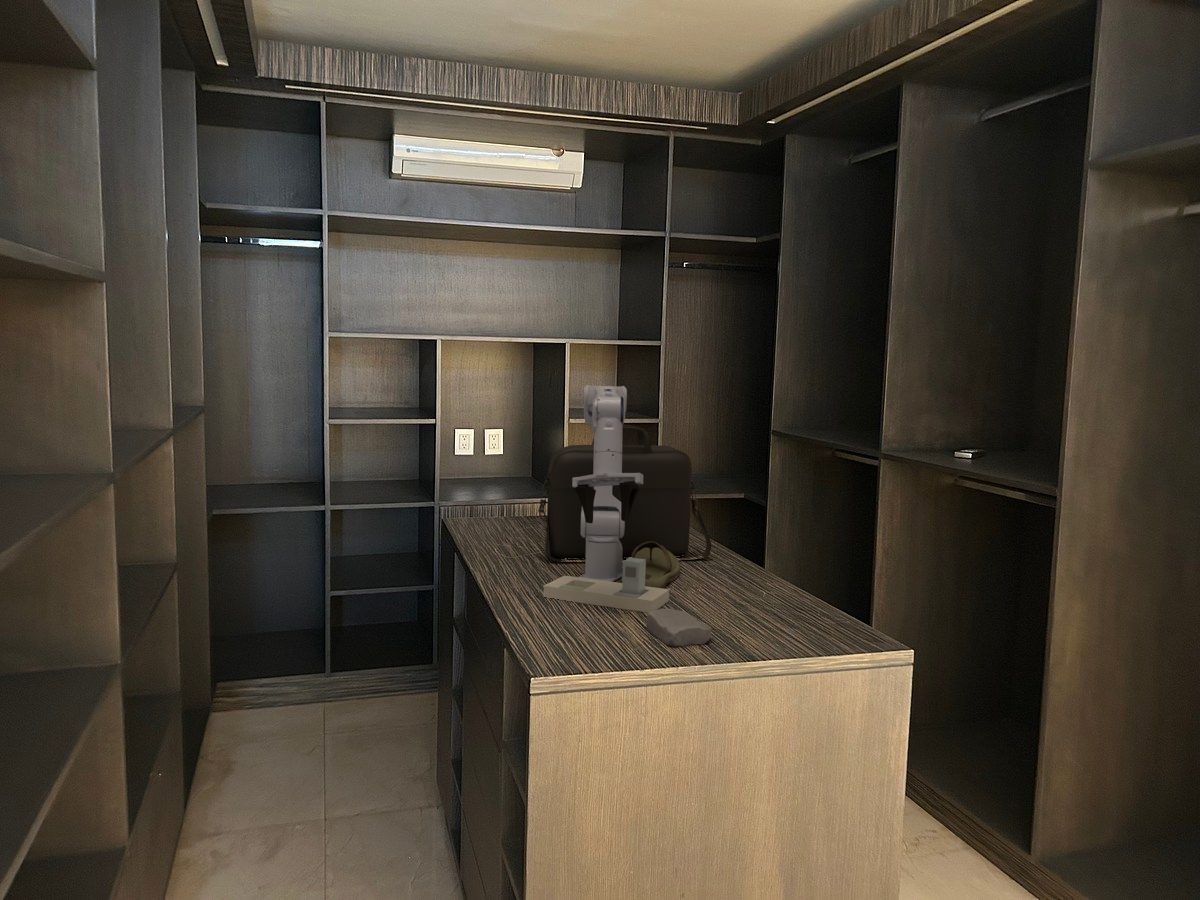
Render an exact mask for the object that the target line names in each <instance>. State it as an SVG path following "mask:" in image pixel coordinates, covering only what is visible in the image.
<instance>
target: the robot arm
mask: <svg viewBox="0 0 1200 900" xmlns="http://www.w3.org/2000/svg"><path fill="white" fill-rule="evenodd" d="M627 392H628V390H627V387H625V385H622V386H613V385H610V386H609V385H589V384H586V385H585V386H584V388H583V419H584V424H585V425H587V426H589V427H591V429H592V433H593V438H594V464H593V475H587V476H582V477H574V478H573V481H572V487H574V488H575V491H576V493H577V495H578V497H579V499H580V502H581V504H582V512H581V536H582V537H585V532H586V559H585V563H584V565H585V566H584V573H583V574H581V575H579V576H578V577H579V578H587V579H594V580H602V581H609V582H615V581H617V580H619V579H620V578H622V576H623V563H622V559H623V558H622V552H623V549H622V544H621V542H620V541H619V538H622V537H623V536H624V527H625V522H628V520H629V515H630V512H631V508H632V505H633V503H634V500H635V498H636V496H637V495H638V493H639V491H640V488H639V487H638V484H643V474H641V473H622V445H623V428H622V427H623V426H622V425H625V420H626V412H627V405H628V404H627V402H628V393H627ZM612 485H619V486H620V493H621V502H620V501H619V500H618V499H616V498H615V497H614V496H613V495H612ZM591 487H594V489H592V488H591Z"/></svg>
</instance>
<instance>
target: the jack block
mask: <svg viewBox="0 0 1200 900" xmlns="http://www.w3.org/2000/svg"><path fill="white" fill-rule="evenodd" d="M544 597H547V598H546V599H550V598H554V599H553V600H557V599H559V600H558V601H564V600H566V601H567V602H571V601H572V603H578V604H587V605H593V606H599V607H601V606H602V607H607V608H614V609H621V610H627V611H634V612H642V613H647V614H648V613H650V612H652V611H653V610H659V609H661V608H662V607H664V605H666V604H667V603H668V602H670V601H669V600H670V589H669V588H664V589H662V588H655V587H647V586H645V593H644V594H643V595H637V594H629V593H622V583H621V582H615V581H614V582H609V581H602V580H594V579H587V578H579V576H570V575H563V576H561V577H559V578H557V579H555V580H553V581H551V582H549V583H546V584H544V585H543V598H544Z"/></svg>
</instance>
